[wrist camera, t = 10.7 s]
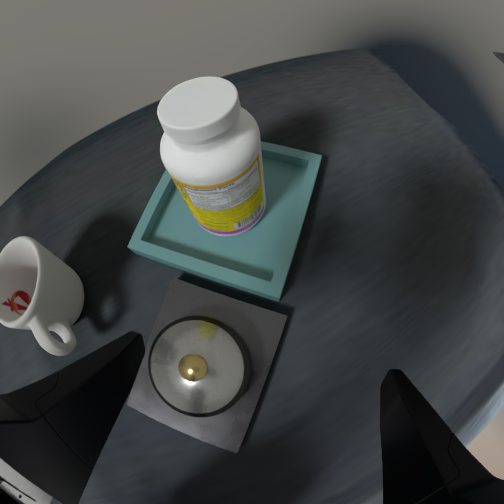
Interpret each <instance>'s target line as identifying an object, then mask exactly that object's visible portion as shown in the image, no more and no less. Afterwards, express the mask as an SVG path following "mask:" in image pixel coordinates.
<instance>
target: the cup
mask: <svg viewBox="0 0 504 504" xmlns="http://www.w3.org/2000/svg"><path fill="white" fill-rule="evenodd" d="M83 304H84V289H83V285H82V282H81V280H80V278H79V276H78V275H77V274H76V272H75V271H74V270H73V269H72V268H70V267H69V266H68V265H66V264H65V263H64V262H62V261H61V260H60V259H58V258H57V257H56V256H55V255H53V254H52V253H51V252H49V251H48V250H47V249H45V248H44V247H43V246H42V245H40V244H39V243H38V242H37V241H35V240H34V239H33V238H30V237H27V236H21V237H17V238H15V239H13V240H12V241H11V242H9V243H8V244H7V245H6V246H5V248H4V249H3V250H2V252H1V253H0V322H1V323H2V324H3V325H5V326H7V327H9V328H17V329H31V330H32V332H33V334H34V336H35V337H36V339H37V341H38V342H39V344H40V345H41V346H42V347H43V348H44V349H45V350H46V351H47V352H49V353H51V354H53V355H57V356H64V355H67V354H69V353H70V352H72V351H73V350H74V349H75V347H76V338H75V336H74V333H73V331H72V329H71V327H70V326H71V325H73V324H74V323H75V322H76V320H77V319H78V318H79V316H80V314H81V311H82V308H83ZM49 331H54V332H56V333H57V334H59V335H60V337H61V338H62V339H63V341H64V343H61V342H59V341H57V340H56V339H55V338H54V337H53V336H52V335H51V334H50V332H49Z"/></svg>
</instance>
